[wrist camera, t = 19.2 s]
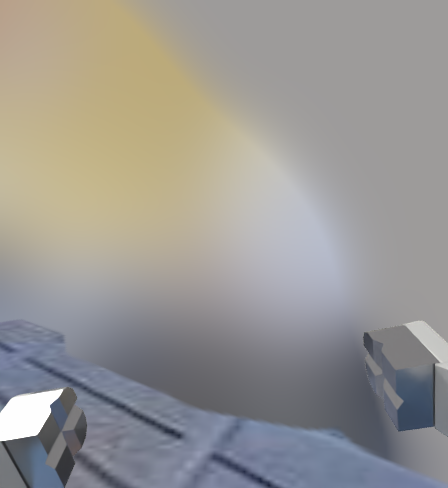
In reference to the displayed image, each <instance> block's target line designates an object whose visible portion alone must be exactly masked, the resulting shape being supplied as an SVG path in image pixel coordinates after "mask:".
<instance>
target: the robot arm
mask: <svg viewBox="0 0 448 488" xmlns="http://www.w3.org/2000/svg"><path fill="white" fill-rule="evenodd" d="M363 342H364V347H365V348H366V350H367V351H368V355H367V357H366V358H365V366H366V372H367V375H368V379H369V382H370V384H371V386H372V388H373V390H374V392H375V394H376V395H377V396H378V397H380V398H382V399H384V403H385V410H386V412H387V413H388V415H389V417H390V418H391V420H392V422H393V423H394V425H395V427H396V428H397V430H398V431H405V430H412V429H420V428H427V427H433V426H435V429H437V430H438V431H440V432H441V433H443V434H444V435H446V436H447V437H448V343H447V342H446V341H445V340H444V339H443V338H442V337H441V336H439V335H438V334H437V333H436V332H435V331H434V330H433V329H432V328H431V327H430V326H429V325H427V324H426V323H425V322H423V321H416V322H411V323H407V324H402V325H400V326H395V327H390V328H385V329H379V330H374V331H369V332H364V336H363ZM76 400H77V396H76V394H75V392H74V390H73V388H70V387H64V388H58V389H51V390H45V391H39V392H34V393H28V394H22V395H17V396H15V397H13V398H12V399H11V400H10V401H9V403H8V404H7V405H6V406H5V408H4V409H3V410H2V412H1V413H0V488H65V486H66V484H67V482H68V479H69V477H70V475H71V472H72V470H73V467H74V465H75V461H74V458H73V456H74V455H75V454H76V453H77V452H78V451H79V450H80V449H81V448H82V446H83V443H84V441H85V438H86V432H87V422H86V417H85V414H84V412H83V410H82V409H80V408H79V407H77V406H76V405H75V403H76Z"/></svg>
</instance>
